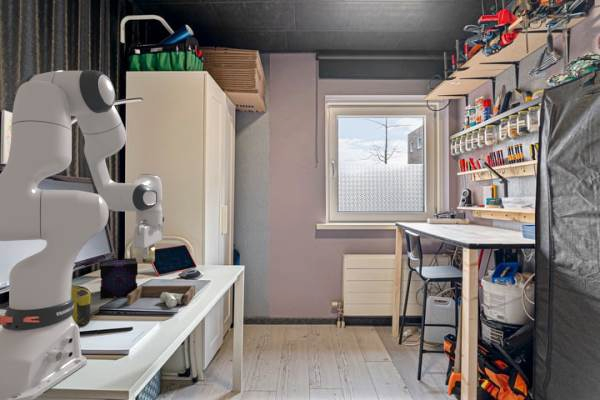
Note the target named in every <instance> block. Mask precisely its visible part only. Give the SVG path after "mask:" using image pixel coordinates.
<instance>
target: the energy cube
mask: <svg viewBox="0 0 600 400" xmlns="http://www.w3.org/2000/svg"><path fill="white" fill-rule="evenodd" d="M138 269H139V267H138V261H137V258H136V257H129V258H123V259H121V260H120V259H119V260H118V259H117V260H116V259H113V258H112V259H102V260H101V261H100V292H99V296H100V300H107V299H114V298H116V297H120V296H121V297H125V298H127V295H128V294H130V293H131V292H132V291H134V290H135V289H137V288H138V283H137V276H138V273H139V272H138Z"/></svg>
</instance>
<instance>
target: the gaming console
mask: <svg viewBox="0 0 600 400" xmlns="http://www.w3.org/2000/svg"><path fill="white" fill-rule="evenodd" d="M71 297H73V301H74V313H73V315H72V317H73V320H74V321H75V323H76V324H77V325H78V326H85V325H88V324H89V323H90V321H91V298H92V295H91V291H89V290H87V289H85V288H82V287H79V286H76V285H73V284H72V287H71Z"/></svg>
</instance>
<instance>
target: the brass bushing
mask: <svg viewBox="0 0 600 400" xmlns="http://www.w3.org/2000/svg"><path fill="white" fill-rule="evenodd" d="M155 251H156V247H149V249H148V252H149V258H148V259H143V258H142V263H148V264H149V263H150V264H151V263H154V262H155V259H156V257H155V255H156V254H155V253H156V252H155Z"/></svg>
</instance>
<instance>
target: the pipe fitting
mask: <svg viewBox="0 0 600 400" xmlns="http://www.w3.org/2000/svg"><path fill="white" fill-rule="evenodd" d="M159 302H160V303H163V304H164V303H165V304H166V307H167V308H169V309H170V308H175V307H176V306H177V305H180V306H181V305H184V304H185V295H184V294H174V293H167V292H163V293H162V294H161V296H159Z"/></svg>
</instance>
